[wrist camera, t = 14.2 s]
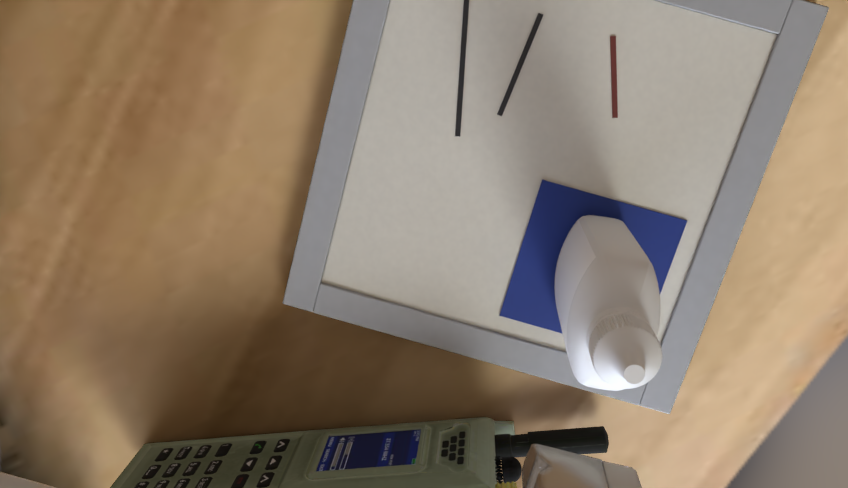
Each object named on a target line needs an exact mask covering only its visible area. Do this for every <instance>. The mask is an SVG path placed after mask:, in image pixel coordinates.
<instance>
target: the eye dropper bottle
mask: <svg viewBox="0 0 848 488" xmlns="http://www.w3.org/2000/svg"><path fill="white" fill-rule="evenodd" d="M554 288H555V301H556V307H557V312H558V316H559V321H560V325H561V329H562V334H563V338H564V342H565V346H566V350H567V354H568V358H569V362H570V366H571V369H572V371H573V374H574V376H575V378H576V379H577V380H578V382H579V383H581V384H583V385H585V386H587V387H591V388H596V389H602V390H610V391H619V390H624V389H627V388H628V389H630V388H632V389H633V388H637V387H640V386H643V385H644V384H646V383H647V382H649V381H650V380H652V378H653V377H655V375H656V374H657V372H658V370H659V369H660V366H661V363H662V359H663V358H662V355H663V354H662V347H661V344H660V343H659V340H658V338H657V335H658V330H659V324H660V310H661V308H660V294H659V287H658V282H657V278H656V274H655V271H654V268H653V265H652V263H651V262H650V260H649V258H648V257H647V255H646V254H645V252H644V251H643V249H642V248H641V246H640V245H639V244H638V242H637V241H636V239H635V238H634V236H633V235H632V233H631V232H630V231H629V229H628V228H627V226H626V225H625V224H624V222H623V221H621V220H618V219H615V218H609V217H602V216H594V215H586V216H582V217H581V218H579V219H578V220H577V221H576V223H575V224H574V225H573V227H572V228H571V230H570V232H569V233H568V235H567V237H566V239H565V241H564V243H563V246H562V248H561V251H560V254H559V257H558V261H557V265H556V271H555V286H554Z"/></svg>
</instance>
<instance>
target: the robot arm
mask: <svg viewBox="0 0 848 488" xmlns="http://www.w3.org/2000/svg"><path fill="white" fill-rule="evenodd" d="M522 484H523V488H642V487H641V484H640V481H639V478H638V475H637V472H636V470H634V469H633V468H632V467H627V466H623V465H618V464H614V463H609V462H605V461H602V460H600V459H596V458H592V457H588V456H584V455H580V454H576V453H572V452H568V451H564V450H560V449H556V448H552V447H548V446H544V445H540V444H532V445H531V447H530V449H529V451H528V453H527V456H526V459H525V462H524V465H523V468H522ZM0 488H56V487H52V486H49V485H45V484H41V483H38V482H34V481H31V480H27V479H23V478H20V477H16V476H13V475H9V474H5V473H2V472H0Z"/></svg>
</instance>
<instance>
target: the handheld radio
mask: <svg viewBox="0 0 848 488" xmlns="http://www.w3.org/2000/svg"><path fill="white" fill-rule="evenodd" d="M532 444H540V445H544V446H548V447H552V448H556V449H560V450H564V451H568V452H572V453H576V454H591V453H606V452H607V449H608V445H609V442H608V435H607V432H606V431H605V429H604V427H603V426H601V427H588V428H575V429H562V430H549V431H536V432H528V434H521V435H515V431H514V422H513V421H494V420H493V419H491V418H487V417H479V418H466V419H453V420H440V421H427V422H414V423H401V424H388V425H375V426H362V427H349V428H336V429H323V430H310V431H298V432H285V433H273V434H260V435H248V436H236V437H223V438H211V439H198V440H186V441H174V442H161V443H149V444H144V445H143V447H142V448H141V449H140V450H139V452H138V453H137V454H136V455H135V457H134V458H133V459H132V461H131V462H130V463H129V464H128V466H127V467H126V468H125V469H124V471H123V472H122V473H121V474H120V476H119V477H118V478H117V480H116V481H115V482H114V483H113V485H112V486H111V487H110V488H517V484H516V483H514V482H516V481H517V480H518V479H519V478H520V476H521V472H522V469H521V465H520V463H519V461H518V460H517V459H516V458H514V457H526V456H527V453H528V451H529V449H530V447H531V445H532ZM500 460H502V461H500ZM501 462H502V464H501ZM498 465H502V467H501V466H498ZM501 469H502V470H501ZM497 472H498V473H497ZM500 472H503V474H502V473H500ZM502 476H503V478H502ZM502 479H503V480H504V482H503V481H501V480H502ZM497 480H498V481H497Z"/></svg>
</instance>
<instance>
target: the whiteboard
mask: <svg viewBox="0 0 848 488" xmlns="http://www.w3.org/2000/svg"><path fill="white" fill-rule="evenodd" d="M828 9H829V7H827V6H823V5H820V4H816V3H812V2H809V1H805V0H353V3H352V8H351V12H350V16H349V20H348V25H347V29H346V33H345V38H344V42H343V46H342V50H341V55H340V59H339V63H338V68H337V72H336V76H335V80H334V85H333V89H332V93H331V98H330V102H329V106H328V110H327V115H326V119H325V123H324V128H323V132H322V136H321V140H320V145H319V149H318V153H317V157H316V162H315V166H314V170H313V175H312V179H311V183H310V187H309V192H308V196H307V200H306V205H305V209H304V213H303V217H302V222H301V226H300V230H299V235H298V239H297V243H296V247H295V252H294V256H293V260H292V265H291V269H290V273H289V277H288V282H287V286H286V290H285V295H284V299H283V304H286V305H289V306H293V307H296V308H300V309H303V310H307V311H310V312H314V313H316V314H320V315H323V316H327V317H330V318H334V319H337V320H341V321H344V322H348V323H351V324H355V325H358V326H362V327H365V328H369V329H372V330H376V331H380V332H383V333H387V334H390V335H394V336H397V337H401V338H404V339H408V340H411V341H415V342H418V343H422V344H425V345H429V346H432V347H436V348H439V349H443V350H446V351H450V352H453V353H457V354H460V355H464V356H467V357H471V358H474V359H478V360H481V361H485V362H488V363H492V364H495V365H499V366H502V367H506V368H509V369H513V370H516V371H520V372H523V373H527V374H530V375H534V376H537V377H541V378H544V379H548V380H551V381H555V382H558V383H562V384H565V385H569V386H572V387H576V388H579V389H583V390H586V391H590V392H594V393H597V394H601V395H604V396H608V397H611V398H615V399H618V400H622V401H625V402H629V403H632V404H636V405H640V406H643V407H646V408H650V409H653V410H657V411H660V412H664V413H667V414H670V412H671V410H672V407H673V404H674V402H675V399H676V397H677V394H678V392H679V389H680V387H681V384H682V382H683V379H684V376H685V374H686V371H687V369H688V366H689V364H690V361H691V359H692V356H693V353H694V351H695V348H696V346H697V343H698V341H699V338H700V336H701V333H702V331H703V328H704V325H705V323H706V320H707V318H708V315H709V313H710V310H711V308H712V305H713V303H714V300H715V297H716V295H717V292H718V290H719V287H720V285H721V282H722V280H723V277H724V274H725V272H726V269H727V267H728V264H729V262H730V259H731V257H732V254H733V252H734V249H735V246H736V244H737V241H738V239H739V236H740V234H741V231H742V229H743V226H744V224H745V221H746V218H747V216H748V213H749V211H750V208H751V206H752V203H753V201H754V198H755V195H756V193H757V190H758V188H759V185H760V183H761V180H762V178H763V175H764V173H765V170H766V167H767V165H768V162H769V160H770V157H771V155H772V152H773V150H774V147H775V145H776V142H777V139H778V137H779V134H780V132H781V129H782V127H783V124H784V122H785V119H786V116H787V114H788V111H789V109H790V106H791V104H792V101H793V99H794V96H795V94H796V91H797V88H798V86H799V83H800V81H801V78H802V76H803V73H804V71H805V68H806V66H807V63H808V60H809V58H810V55H811V53H812V50H813V48H814V45H815V43H816V40H817V37H818V35H819V32H820V30H821V27H822V25H823V22H824V20H825V17H826V15H827V12H828ZM586 215H594V216H602V217H609V218H615V219H618V220H621V221H623V222H624V224H625V225H626V226H627V228H628V229H629V231H630V232H631V233H632V235H633V236H634V238H635V239H636V241H637V242H638V244H639V245H640V246H641V248H642V249H643V251H644V252H645V254H646V255H647V257H648V258H649V260H650V262H651V263H652V265H653V268H654V271H655V274H656V278H657V282H658V287H659V294H660V308H661V310H660V324H659V330H658V335H657V338H658V340H659V343H660V344H661V347H662V354H663V355H662V358H663V359H662V363H661V366H660V369H659V370H658V372H657V374H656V375H655V377H653V378H652V380H650V381H649V382H647V383H646V384H644V385H643V386H640V387H637V388H633V389H632V388H630V389H628V388H627V389H624V390H619V391H610V390H602V389H596V388H591V387H587V386H585V385H583V384H581V383H579V382H578V380H577V379H576V378H575V376H574V374H573V371H572V369H571V366H570V362H569V358H568V354H567V350H566V346H565V342H564V338H563V334H562V329H561V325H560V321H559V316H558V312H557V307H556V301H555V288H554V286H555V271H556V265H557V261H558V257H559V254H560V251H561V248H562V246H563V243H564V241H565V239H566V237H567V235H568V233H569V232H570V230H571V228H572V227H573V225H574V224H575V223H576V221H577V220H578V219H579V218H581V217H582V216H586Z"/></svg>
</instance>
